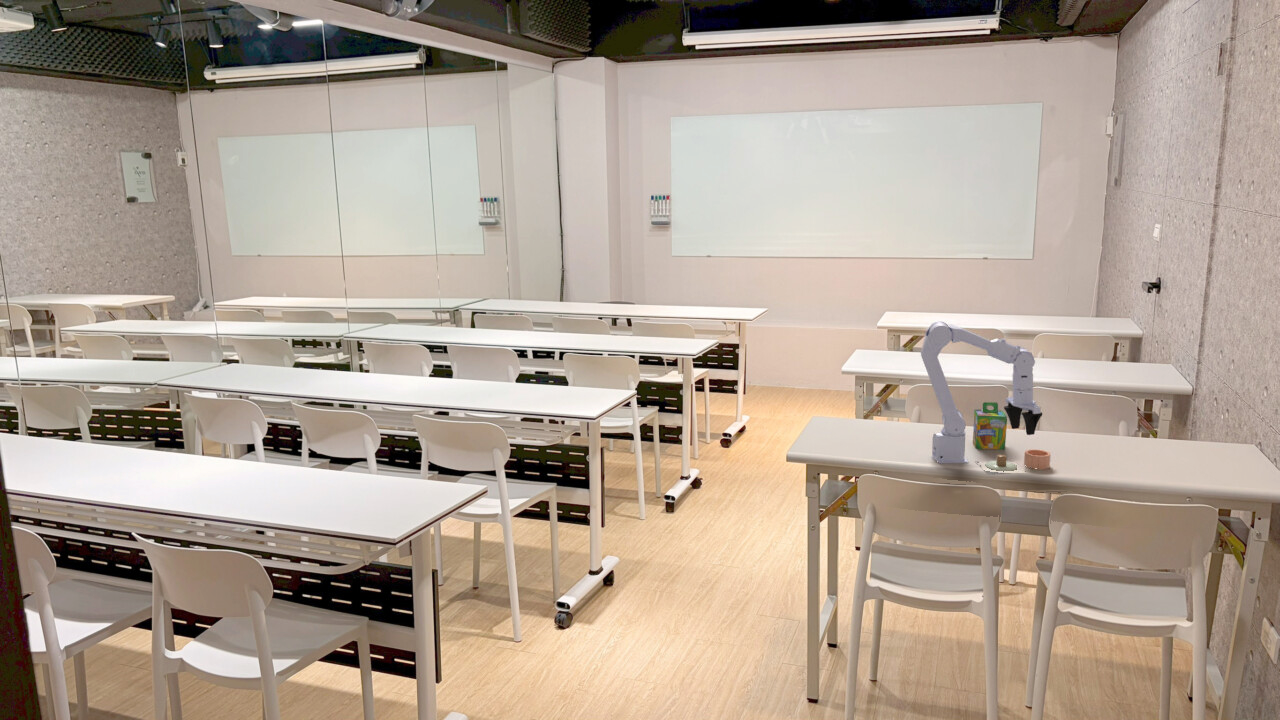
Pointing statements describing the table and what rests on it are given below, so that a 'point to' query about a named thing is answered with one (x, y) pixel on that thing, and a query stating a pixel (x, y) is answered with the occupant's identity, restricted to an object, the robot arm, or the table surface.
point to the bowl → (1037, 459)
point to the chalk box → (989, 427)
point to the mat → (991, 472)
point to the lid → (1001, 464)
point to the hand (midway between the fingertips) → (1022, 431)
